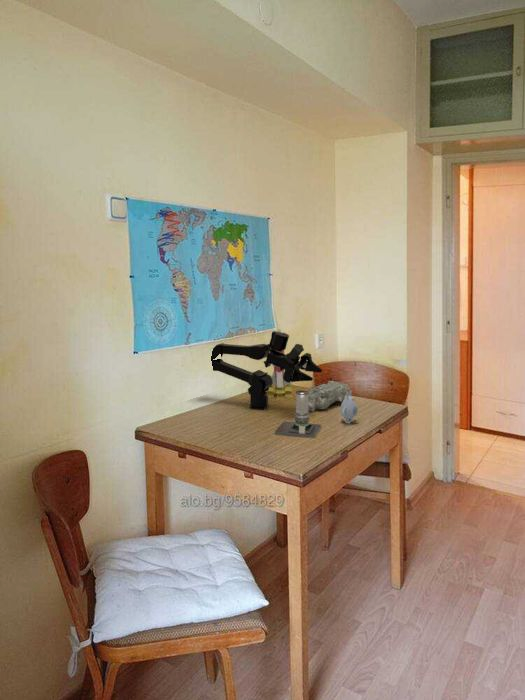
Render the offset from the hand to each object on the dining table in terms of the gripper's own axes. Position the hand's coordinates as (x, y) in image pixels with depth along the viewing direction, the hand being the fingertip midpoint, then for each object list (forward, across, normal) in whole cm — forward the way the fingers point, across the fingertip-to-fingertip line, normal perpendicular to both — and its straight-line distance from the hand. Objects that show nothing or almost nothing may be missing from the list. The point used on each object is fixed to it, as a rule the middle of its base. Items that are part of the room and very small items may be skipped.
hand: (317, 375), depth 204 cm
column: (+7, -24, +9) cm, 26 cm away
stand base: (+5, -23, +11) cm, 26 cm away
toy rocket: (-20, +16, +26) cm, 36 cm away
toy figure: (+18, -6, +10) cm, 22 cm away
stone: (+4, +13, +18) cm, 23 cm away
